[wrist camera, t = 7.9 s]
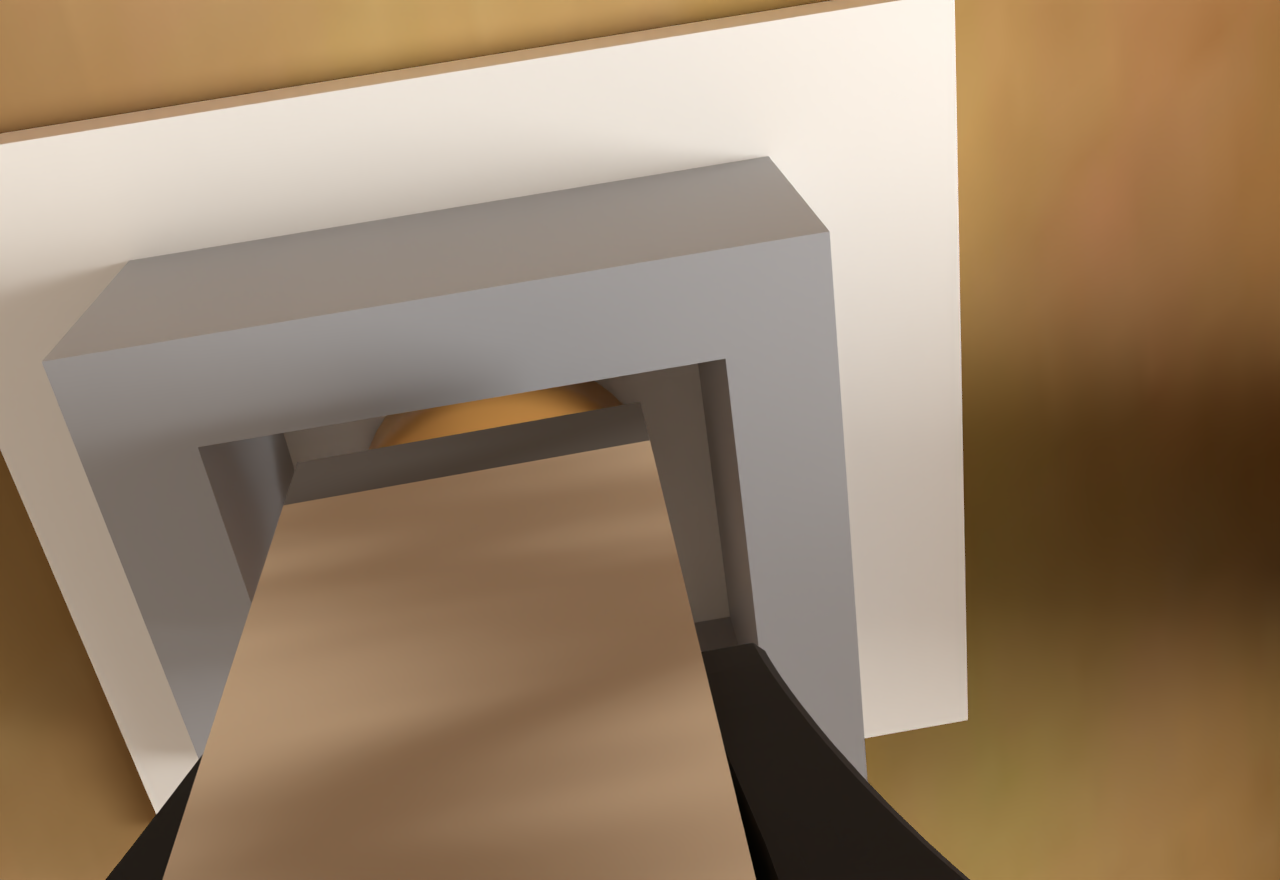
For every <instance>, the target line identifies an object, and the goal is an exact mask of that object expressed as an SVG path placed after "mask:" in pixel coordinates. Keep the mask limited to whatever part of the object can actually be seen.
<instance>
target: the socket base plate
mask: <svg viewBox="0 0 1280 880" xmlns="http://www.w3.org/2000/svg"><path fill="white" fill-rule="evenodd" d="M589 381H595V382H597V383H598V384H600V385H601V386H602V387H604V388H605V389H606V390H608V391H609V392H610V393H612V394H613V395H614V396H615V397H616V398H617V399H618V400H619V401H620V402H621V403H622V404H623V405H625V404H631V403H636V402H641V405H642V410H643V414H644V418H645V422H646V426H647V430H648V434H649V438H650V443H651V447H652V451H653V455H654V459H655V463H656V467H657V472H658V476H659V480H660V484H661V488H662V492H663V496H664V501H665V505H666V509H667V513H668V517H669V521H670V525H671V529H672V534H673V538H674V542H675V546H676V550H677V554H678V558H679V563H680V567H681V571H682V575H683V579H684V583H685V587H686V592H687V596H688V600H689V604H690V608H691V612H692V616H693V621H694V625H695V629H696V633H697V637H698V641H699V645H700V649H701V652H704V651H710V650H715V649H721V648H726V647H732V646H737V645H743V644H748V643H754V644H756V645H757V646H759V647H760V648H762V649H763V650H765V651H766V653H767V655H768V657H769V658H770V660H771V662H772V663H773V665H774V666H775V668H776V670H777V671H778V673H779V674H780V676H781V677H782V679H783V680H784V681H785V683H786V684H787V686H788V687H789V689H790V690H791V691H792V693H793V694H794V695H795V697H796V698H797V699H798V701H799V702H800V703H801V705H802V706H803V707H804V708H805V710H806V711H807V712H808V713H809V715H810V716H811V717H812V718H813V720H814V721H815V722H816V724H817V725H818V726H819V727H820V728H821V730H822V731H823V732H824V733H825V734H826V736H827V737H828V738H829V739H830V740H831V742H832V743H833V744H834V745H835V746H836V747H837V748H838V750H839V751H840V752H841V753H842V754H843V755H844V756H845V757H846V758H847V760H848V761H849V762H850V763H851V764H852V765H853V766H854V767H855V768H856V770H857V771H858V772H859V773H860V774H861V775H862V776H863V777H864V778H865V779H866V781H867V768H866V753H865V739H864V738H869V737H875V736H880V735H886V734H892V733H897V732H903V731H908V730H914V729H920V728H925V727H931V726H937V725H942V724H948V723H954V722H959V721H965V720H968V698H967V644H966V590H965V537H964V483H963V429H962V375H961V321H960V267H959V214H958V160H957V106H956V52H955V0H830V1H824V2H818V3H812V4H805V5H799V6H793V7H787V8H780V9H774V10H768V11H762V12H755V13H749V14H743V15H737V16H730V17H724V18H718V19H712V20H706V21H699V22H693V23H687V24H681V25H674V26H668V27H662V28H656V29H649V30H643V31H637V32H631V33H624V34H618V35H612V36H606V37H599V38H593V39H587V40H581V41H574V42H568V43H562V44H556V45H549V46H543V47H537V48H531V49H524V50H518V51H512V52H506V53H499V54H493V55H487V56H481V57H474V58H468V59H462V60H456V61H449V62H443V63H437V64H431V65H424V66H418V67H412V68H406V69H400V70H393V71H387V72H381V73H375V74H368V75H362V76H356V77H350V78H343V79H337V80H331V81H325V82H318V83H312V84H306V85H300V86H293V87H287V88H281V89H275V90H268V91H262V92H256V93H250V94H243V95H237V96H231V97H225V98H218V99H212V100H206V101H200V102H193V103H187V104H181V105H175V106H168V107H162V108H156V109H150V110H143V111H137V112H131V113H125V114H119V115H112V116H106V117H100V118H94V119H87V120H81V121H75V122H69V123H62V124H56V125H50V126H44V127H37V128H31V129H25V130H19V131H12V132H6V133H0V450H1V452H2V455H3V457H4V459H5V462H6V464H7V466H8V469H9V471H10V473H11V476H12V478H13V480H14V483H15V485H16V487H17V490H18V492H19V494H20V497H21V499H22V501H23V504H24V506H25V508H26V511H27V513H28V515H29V518H30V520H31V522H32V525H33V527H34V529H35V532H36V534H37V536H38V539H39V541H40V543H41V546H42V548H43V550H44V553H45V555H46V558H47V560H48V562H49V565H50V567H51V569H52V572H53V574H54V576H55V579H56V581H57V583H58V586H59V588H60V590H61V593H62V595H63V597H64V600H65V602H66V604H67V607H68V609H69V611H70V614H71V616H72V618H73V621H74V623H75V625H76V628H77V630H78V632H79V635H80V637H81V639H82V642H83V644H84V646H85V649H86V651H87V653H88V656H89V658H90V660H91V663H92V665H93V667H94V670H95V672H96V675H97V677H98V679H99V682H100V684H101V686H102V689H103V691H104V693H105V696H106V698H107V700H108V703H109V705H110V707H111V710H112V712H113V714H114V717H115V719H116V721H117V724H118V726H119V728H120V731H121V733H122V735H123V738H124V740H125V742H126V745H127V747H128V749H129V752H130V754H131V756H132V759H133V761H134V763H135V766H136V768H137V770H138V773H139V775H140V777H141V780H142V782H143V785H144V787H145V789H146V792H147V794H148V796H149V799H150V801H151V803H152V806H153V808H154V810H155V813H156V814H157V813H158V812H159V811H160V809H161V808H162V807H163V805H164V804H165V803H166V801H167V800H168V799H169V797H170V796H171V795H172V794H173V792H174V791H175V790H176V788H177V787H178V786H179V784H180V783H181V782H182V780H183V779H184V778H185V776H186V775H187V774H188V773H189V771H190V770H191V769H192V767H193V766H194V765H195V763H196V762H197V761H198V760H199V758H200V757H201V756H202V755H203V753H204V750H205V746H206V743H207V740H208V737H209V734H210V731H211V728H212V725H213V722H214V719H215V716H216V712H217V709H218V706H219V703H220V700H221V697H222V694H223V691H224V688H225V685H226V681H227V678H228V675H229V672H230V669H231V666H232V663H233V660H234V657H235V654H236V650H237V647H238V644H239V641H240V638H241V635H242V632H243V629H244V626H245V623H246V620H247V616H248V613H249V610H250V607H251V604H252V601H253V598H254V595H255V592H256V589H257V585H258V582H259V579H260V576H261V573H262V570H263V567H264V564H265V561H266V558H267V554H268V551H269V548H270V545H271V542H272V539H273V536H274V533H275V530H276V527H277V523H278V520H279V517H280V514H281V511H282V508H283V505H284V502H285V499H286V496H287V493H288V489H289V486H290V483H291V480H292V477H293V474H294V471H295V468H296V465H297V462H303V461H308V460H314V459H320V458H325V457H331V456H337V455H342V454H348V453H354V452H359V451H365V450H369V447H370V445H371V442H372V440H373V438H374V435H375V433H376V431H377V430H378V428H379V427H380V425H381V423H382V422H383V420H384V418H385V417H386V416H387V415H393V414H399V413H405V412H411V411H417V410H422V409H428V408H434V407H440V406H446V405H452V404H458V403H464V402H470V401H476V400H482V399H488V398H494V397H500V396H506V395H512V394H518V393H524V392H530V391H536V390H542V389H548V388H554V387H559V386H565V385H571V384H577V383H583V382H589Z"/></svg>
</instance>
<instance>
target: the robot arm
mask: <svg viewBox="0 0 1280 880" xmlns="http://www.w3.org/2000/svg"><path fill="white" fill-rule="evenodd" d="M701 654H702V658H703V662H704V666H705V670H706V674H707V678H708V683H709V687H710V691H711V695H712V699H713V703H714V707H715V712H716V716H717V720H718V724H719V728H720V732H721V736H722V740H723V745H724V749H725V753H726V757H727V761H728V765H729V769H730V774H731V778H732V782H733V786H734V790H735V794H736V798H737V803H738V807H739V811H740V815H741V819H742V823H743V827H744V831H745V836H746V840H747V844H748V848H749V852H750V856H751V860H752V865H753V869H754V873H755V877H756V880H970V879H968V878H967V877H966V876H965V875H964V874H963V873H962V872H960V871H959V870H958V869H957V868H956V867H955V866H954V865H952V864H951V863H950V862H949V861H948V860H947V859H946V858H945V857H944V856H942V855H941V854H940V853H939V852H938V851H937V850H936V849H935V848H934V847H933V846H932V845H930V844H929V843H928V842H927V841H926V840H925V839H924V838H923V837H922V836H921V835H920V834H919V833H918V832H917V831H916V830H915V829H914V828H913V827H912V826H911V825H910V824H909V823H908V822H907V821H906V820H904V819H903V818H902V817H901V816H900V815H899V814H898V813H897V812H896V811H895V810H894V809H893V808H892V807H891V806H890V805H889V804H888V803H887V802H886V801H885V800H884V799H883V797H882V796H881V795H880V794H879V793H878V792H877V791H876V790H875V789H874V788H873V787H872V786H871V785H870V784H869V783H868V782H867V781H866V779H865V778H864V777H863V776H862V775H861V774H860V773H859V772H858V771H857V770H856V768H855V767H854V766H853V765H852V764H851V763H850V762H849V761H848V760H847V758H846V757H845V756H844V755H843V754H842V753H841V752H840V751H839V750H838V748H837V747H836V746H835V745H834V744H833V743H832V742H831V740H830V739H829V738H828V737H827V736H826V734H825V733H824V732H823V731H822V730H821V728H820V727H819V726H818V725H817V724H816V722H815V721H814V720H813V718H812V717H811V716H810V715H809V713H808V712H807V711H806V710H805V708H804V707H803V706H802V705H801V703H800V702H799V701H798V699H797V698H796V697H795V695H794V694H793V693H792V691H791V690H790V689H789V687H788V686H787V684H786V683H785V681H784V680H783V679H782V677H781V676H780V674H779V673H778V671H777V670H776V668H775V666H774V665H773V663H772V662H771V660H770V658H769V657H768V655H767V653H766V651H765V650H763V649H762V648H760V647H759V646H757V645H756V644H754V643H748V644H743V645H737V646H732V647H726V648H721V649H715V650H710V651H704V652H701ZM202 756H203V755H202ZM202 756H201V757H200V758H199V760H198V761H197V762H196V763H195V765H194V766H193V767H192V769H191V770H190V771H189V773H188V774H187V775H186V776H185V778H184V779H183V780H182V782H181V783H180V784H179V786H178V787H177V788H176V790H175V791H174V792H173V794H172V795H171V796H170V797H169V799H168V800H167V801H166V803H165V804H164V805H163V807H162V808H161V809H160V811H159V812H158V813H157V814H156V816H155V817H154V818H153V820H152V821H151V822H150V824H149V825H148V826H147V827H146V829H145V830H144V831H143V833H142V834H141V835H140V837H139V838H138V839H137V840H136V842H135V843H134V844H133V846H132V847H131V848H130V849H129V851H128V852H127V853H126V855H125V856H124V857H123V858H122V860H121V861H120V862H119V863H118V865H117V866H116V867H115V868H114V870H113V871H112V872H111V873H110V875H109V876H108V877H107V879H106V880H163V877H164V873H165V870H166V867H167V864H168V861H169V858H170V855H171V852H172V849H173V846H174V842H175V839H176V836H177V833H178V830H179V827H180V824H181V821H182V818H183V815H184V812H185V808H186V805H187V802H188V799H189V796H190V793H191V790H192V787H193V784H194V781H195V777H196V774H197V771H198V768H199V765H200V762H201V759H202Z"/></svg>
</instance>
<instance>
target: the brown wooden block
mask: <svg viewBox="0 0 1280 880" xmlns="http://www.w3.org/2000/svg"><path fill="white" fill-rule="evenodd" d="M163 880H756V877H755V873H754V869H753V865H752V860H751V856H750V852H749V848H748V844H747V840H746V836H745V831H744V827H743V823H742V819H741V815H740V811H739V807H738V803H737V798H736V794H735V790H734V786H733V782H732V778H731V774H730V769H729V765H728V761H727V757H726V753H725V749H724V745H723V740H722V736H721V732H720V728H719V724H718V720H717V716H716V712H715V707H714V703H713V699H712V695H711V691H710V687H709V683H708V678H707V674H706V670H705V666H704V662H703V658H702V654H701V649H700V645H699V641H698V637H697V633H696V629H695V625H694V621H693V616H692V612H691V608H690V604H689V600H688V596H687V592H686V587H685V583H684V579H683V575H682V571H681V567H680V563H679V558H678V554H677V550H676V546H675V542H674V538H673V534H672V529H671V525H670V521H669V517H668V513H667V509H666V505H665V501H664V496H663V492H662V488H661V484H660V480H659V476H658V472H657V467H656V463H655V459H654V455H653V451H652V447H651V443H650V438H649V434H648V430H647V426H646V422H645V418H644V414H643V410H642V405H641V402H636V403H631V404H625V405H619V406H614V407H608V408H602V409H597V410H591V411H585V412H580V413H574V414H568V415H563V416H557V417H552V418H546V419H540V420H535V421H529V422H523V423H518V424H512V425H506V426H501V427H495V428H489V429H484V430H478V431H472V432H467V433H461V434H455V435H450V436H444V437H438V438H433V439H427V440H421V441H416V442H410V443H405V444H399V445H393V446H388V447H382V448H376V449H371V450H365V451H359V452H354V453H348V454H342V455H337V456H331V457H325V458H320V459H314V460H308V461H303V462H297V465H296V468H295V471H294V474H293V477H292V480H291V483H290V486H289V489H288V493H287V496H286V499H285V502H284V505H283V508H282V511H281V514H280V517H279V520H278V523H277V527H276V530H275V533H274V536H273V539H272V542H271V545H270V548H269V551H268V554H267V558H266V561H265V564H264V567H263V570H262V573H261V576H260V579H259V582H258V585H257V589H256V592H255V595H254V598H253V601H252V604H251V607H250V610H249V613H248V616H247V620H246V623H245V626H244V629H243V632H242V635H241V638H240V641H239V644H238V647H237V650H236V654H235V657H234V660H233V663H232V666H231V669H230V672H229V675H228V678H227V681H226V685H225V688H224V691H223V694H222V697H221V700H220V703H219V706H218V709H217V712H216V716H215V719H214V722H213V725H212V728H211V731H210V734H209V737H208V740H207V743H206V746H205V750H204V753H203V756H202V759H201V762H200V765H199V768H198V771H197V774H196V777H195V781H194V784H193V787H192V790H191V793H190V796H189V799H188V802H187V805H186V808H185V812H184V815H183V818H182V821H181V824H180V827H179V830H178V833H177V836H176V839H175V842H174V846H173V849H172V852H171V855H170V858H169V861H168V864H167V867H166V870H165V873H164V877H163Z"/></svg>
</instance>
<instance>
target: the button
mask: <svg viewBox="0 0 1280 880" xmlns="http://www.w3.org/2000/svg"><path fill="white" fill-rule="evenodd" d="M619 405H623V404H622V403H621V402H620V401H619V400H618V399H617V398H616V397H615V396H614V395H613V394H612V393H610V392H609V391H608V390H606V389H605V388H604V387H602V386H601V385H600V384H598V383H597V382H595V381H589V382H583V383H577V384H571V385H565V386H559V387H554V388H548V389H542V390H536V391H530V392H524V393H518V394H512V395H506V396H500V397H494V398H488V399H482V400H476V401H470V402H464V403H458V404H452V405H446V406H440V407H434V408H428V409H422V410H417V411H411V412H405V413H399V414H393V415H387V416H386V417H385V418H384V420H383V422H382V423H381V425H380V427H379V428H378V430H377V431H376V433H375V435H374V438H373V440H372V442H371V445H370V447H369V450H371V449H376V448H382V447H388V446H393V445H399V444H405V443H410V442H416V441H421V440H427V439H433V438H438V437H444V436H450V435H455V434H461V433H467V432H472V431H478V430H484V429H489V428H495V427H501V426H506V425H512V424H518V423H523V422H529V421H535V420H540V419H546V418H552V417H557V416H563V415H568V414H574V413H580V412H585V411H591V410H597V409H602V408H608V407H614V406H619Z"/></svg>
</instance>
